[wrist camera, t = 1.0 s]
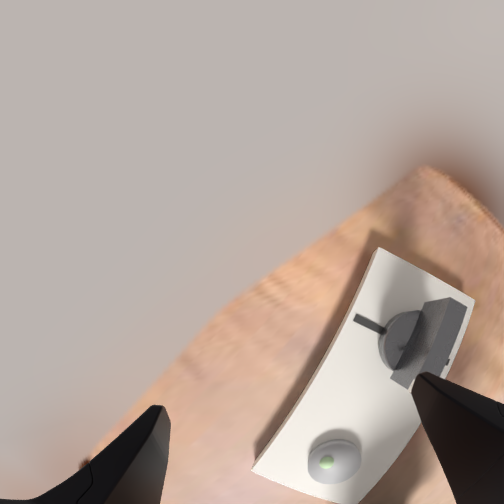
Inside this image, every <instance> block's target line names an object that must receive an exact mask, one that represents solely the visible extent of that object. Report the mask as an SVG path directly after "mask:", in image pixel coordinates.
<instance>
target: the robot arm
mask: <svg viewBox="0 0 504 504" xmlns="http://www.w3.org/2000/svg"><path fill="white" fill-rule="evenodd" d="M411 394H412V397H413V400H414V403H415V405H416V408H417V411H418V414H419V417H420V419H421V422H422V425H423V427H424V429H425V431H426V433H427V435H428V437H429V440H430V442H431V444H432V446H433V448H434V450H435V452H436V455H437V457H438V459H439V461H440V464H441V466H442V468H443V471H444V473H445V475H446V478H447V480H448V482H449V485H450V487H451V490H452V492H453V495H454V498H455V500H456V503H457V504H504V404H502V403H500V402H497V401H495V400H492V399H490V398H488V397H485V396H483V395H480V394H478V393H476V392H473V391H471V390H468V389H466V388H464V387H461V386H459V385H457V384H455V383H452V382H450V381H448V380H445V379H443V378H441V377H439V376H436V375H434V374H432V373H430V372H427V371H426V372H422V373H419V374H418V375H417V376H416V378H415V381H414V384H413V387H412V389H411ZM170 429H171V423H170V419H169V417H168V414H167V411H166V409H165V407H164V406H162V405H152V406H150V407H149V408H148V409H147V410H146V411H145V412H144V413H143V414H142V415H141V416H140V417H139V418H138V419H137V420H135V421H134V422H133V423H132V424H131V425H130V426H129V427H128V428H127V429H126V430H125V431H123V432H122V433H121V434H120V435H119V436H118V437H117V438H116V439H115V440H114V441H112V442H111V443H110V444H109V445H108V446H107V447H106V448H105V449H103V450H102V451H101V452H100V453H99V454H98V455H97V456H95V457H94V458H93V459H92V460H91V461H90V462H89V463H87V464H86V465H85V466H84V467H83V468H81V469H80V470H79V471H78V472H76V473H75V474H74V475H73V476H71V477H70V478H68V479H67V480H65V481H64V482H62V483H61V484H59V485H57V486H56V487H54V488H52V489H51V490H49V491H47V492H46V493H44V494H42V495H41V496H39V497H36V498H34V499H29V500H9V499H0V504H160V501H161V495H162V490H163V485H164V480H165V475H166V470H167V464H168V455H169V441H170Z"/></svg>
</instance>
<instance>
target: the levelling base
mask: <svg viewBox="0 0 504 504" xmlns="http://www.w3.org/2000/svg"><path fill="white" fill-rule="evenodd" d="M448 297H451V298H453V299H455V300H456V301H458V302H460V303H462V304H463V305H465V306H467V307H468V308H467V311H466V314H465V317H464V320H463V323H462V325H461V328H460V331H459V334H458V336H457V339H456V341H455V344H454V346H453V349H452V351H451V353H450V356H449V358H448V360H447V363H446V365H445V367H444V369H443V371H442V373H441V375H440V377H441V378H443V379H445V378H446V376H447V374H448V372H449V370H450V368H451V366H452V363H453V361H454V359H455V356H456V354H457V352H458V349H459V347H460V344H461V342H462V339H463V336H464V334H465V331H466V328H467V325H468V322H469V319H470V316H471V313H472V310H473V307H474V304H475V300H474V299H472V298H471V297H469V296H467V295H466V294H464V293H462V292H461V291H459V290H457V289H455V288H454V287H452V286H450V285H449V284H447V283H445V282H443V281H442V280H440V279H438V278H436V277H434V276H433V275H431V274H429V273H427V272H425V271H424V270H422V269H420V268H418V267H416V266H414V265H413V264H411V263H409V262H407V261H405V260H403V259H401V258H399V257H397V256H396V255H394V254H392V253H390V252H388V251H386V250H384V249H382V248H380V247H378V248H377V249H376V250H375V251H374V252H373V254H372V257H371V259H370V262H369V264H368V266H367V269H366V271H365V273H364V276H363V278H362V280H361V283H360V285H359V287H358V289H357V291H356V294H355V296H354V298H353V300H352V302H351V304H350V306H349V308H348V310H347V313H346V315H345V317H344V319H343V321H342V323H341V325H340V327H339V328H338V330H337V332H336V334H335V336H334V338H333V340H332V342H331V344H330V346H329V347H328V349H327V351H326V353H325V355H324V357H323V358H322V360H321V362H320V364H319V365H318V367H317V369H316V371H315V372H314V374H313V376H312V377H311V379H310V381H309V382H308V384H307V386H306V387H305V389H304V391H303V392H302V394H301V395H300V397H299V399H298V400H297V402H296V403H295V405H294V406H293V408H292V409H291V411H290V412H289V414H288V415H287V417H286V418H285V420H284V421H283V423H282V424H281V426H280V427H279V429H278V430H277V431H276V433H275V434H274V436H273V437H272V439H271V440H270V441H269V443H268V444H267V445H266V447H265V448H264V449H263V451H262V452H261V453H260V455H259V456H258V457H257V459H256V460H255V461H254V464H253V466H252V469H251V471H252V472H254V473H256V474H258V475H261V476H263V477H265V478H267V479H270V480H272V481H274V482H277V483H279V484H282V485H284V486H287V487H289V488H292V489H295V490H297V491H300V492H303V493H306V494H309V495H312V496H315V497H318V498H321V499H324V500H328V501H331V502H335V503H339V504H358V503H359V502H360V501H361V500H362V499H363V498H364V497H365V496H366V494H367V493H368V492H369V491H370V490H371V489H372V488H373V487H374V486H375V485H376V483H377V482H378V481H379V480H380V479H381V478H382V476H383V475H384V474H385V473H386V471H387V470H388V469H389V468H390V466H391V465H392V464H393V463H394V461H395V460H396V459H397V457H398V456H399V455H400V453H401V452H402V451H403V449H404V448H405V446H406V445H407V443H408V442H409V441H410V439H411V438H412V436H413V435H414V433H415V432H416V430H417V428H418V427H419V425H420V424H421V419H420V417H419V414H418V411H417V408H416V405H415V403H414V400H413V397H412V394H410V393H409V392H407V389H406V388H404V387H403V386H401V385H399V384H398V383H396V382H395V381H393V380H392V379H390V377H391V375H392V373H393V371H392V370H390V369H389V368H387V367H386V366H385V365H384V363H383V362H382V360H381V357H380V354H379V339H380V335H381V333H382V330H383V328H384V327H385V325H386V324H387V323H388V321H389V320H390V319H392V318H393V317H394V316H396V315H397V314H399V313H402V312H407V311H415V310H422V307H423V305H424V302H429V301H434V300H439V299H443V298H448Z"/></svg>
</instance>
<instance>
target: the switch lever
mask: <svg viewBox="0 0 504 504" xmlns="http://www.w3.org/2000/svg"><path fill="white" fill-rule="evenodd" d="M467 308H468V307H467V306H465V305H463V304H462V303H460V302H458V301H456V300H455V299H453V298H451V297H448V298H443V299H439V300H434V301H429V302H424V305H423V307H422V310H415V311H407V312H402V313H399V314H397V315H396V316H394V317H393V318H392V319H390V320H389V321H388V323H387V324H386V325H385V327H384V328H383V330H382V333H381V335H380V339H379V354H380V357H381V360H382V362H383V363H384V365H385V366H386V367H387V368H389V369H390V370H392V371H393V373H392V375H391V377H390V379H392V380H393V381H395V382H396V383H398V384H399V385H401V386H403V387H404V388H406V389H407V392H409V393H410V394H411V389H412V387H413V384H414V381H415V378H416V376H417V375H418V374H419V373H422V372H426V371H427V372H430V373H432V374H434V375H436V376H439V377H440V375H441V373H442V371H443V369H444V367H445V365H446V363H447V360H448V358H449V356H450V353H451V351H452V349H453V346H454V344H455V341H456V339H457V336H458V334H459V331H460V328H461V325H462V323H463V320H464V317H465V314H466V311H467Z"/></svg>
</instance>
